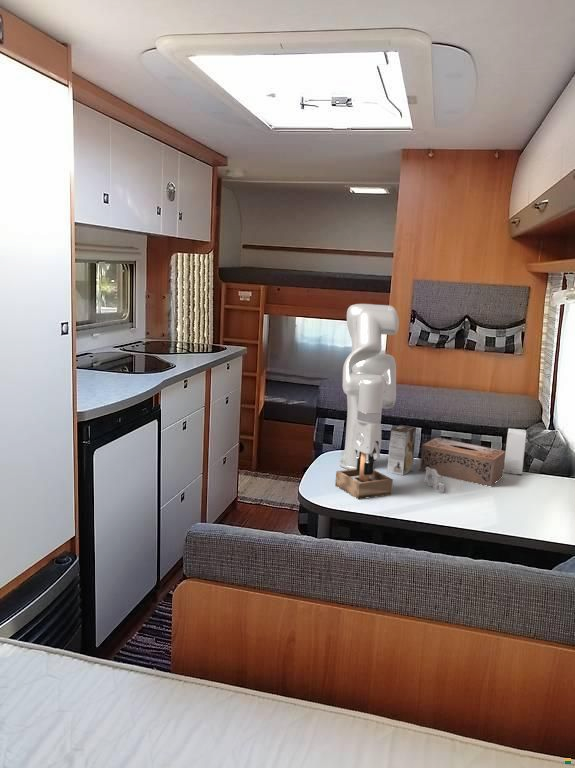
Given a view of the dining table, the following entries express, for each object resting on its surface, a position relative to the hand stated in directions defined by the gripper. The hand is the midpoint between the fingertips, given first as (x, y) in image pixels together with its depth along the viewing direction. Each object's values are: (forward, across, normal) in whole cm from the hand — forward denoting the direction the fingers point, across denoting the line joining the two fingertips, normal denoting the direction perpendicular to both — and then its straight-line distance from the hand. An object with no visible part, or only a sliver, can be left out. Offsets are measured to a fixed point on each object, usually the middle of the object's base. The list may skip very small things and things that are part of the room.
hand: (364, 472), depth 197 cm
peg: (+3, 0, 0) cm, 3 cm away
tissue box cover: (+6, -3, +45) cm, 46 cm away
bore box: (+6, 0, 0) cm, 6 cm away
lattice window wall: (+6, +5, +25) cm, 26 cm away
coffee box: (+6, -13, +25) cm, 29 cm away
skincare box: (+6, +1, +67) cm, 67 cm away
